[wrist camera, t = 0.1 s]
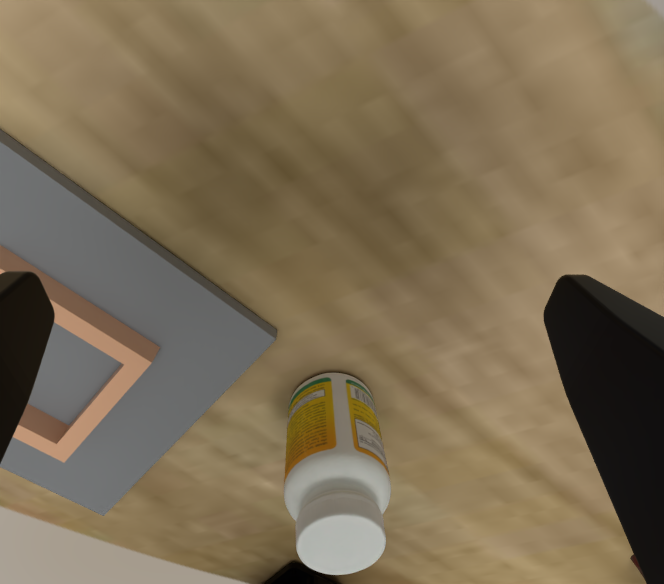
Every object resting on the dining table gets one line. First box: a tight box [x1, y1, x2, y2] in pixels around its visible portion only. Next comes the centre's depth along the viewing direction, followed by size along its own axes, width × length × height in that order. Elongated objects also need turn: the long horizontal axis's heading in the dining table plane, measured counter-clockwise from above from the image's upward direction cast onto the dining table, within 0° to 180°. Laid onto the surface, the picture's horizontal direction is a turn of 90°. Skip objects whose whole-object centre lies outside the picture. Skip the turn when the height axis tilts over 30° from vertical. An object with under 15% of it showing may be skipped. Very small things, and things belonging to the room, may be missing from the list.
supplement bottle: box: [284, 373, 391, 575], centre depth 24 cm, size 5×5×10 cm
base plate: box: [0, 129, 277, 516], centre depth 24 cm, size 18×18×2 cm
